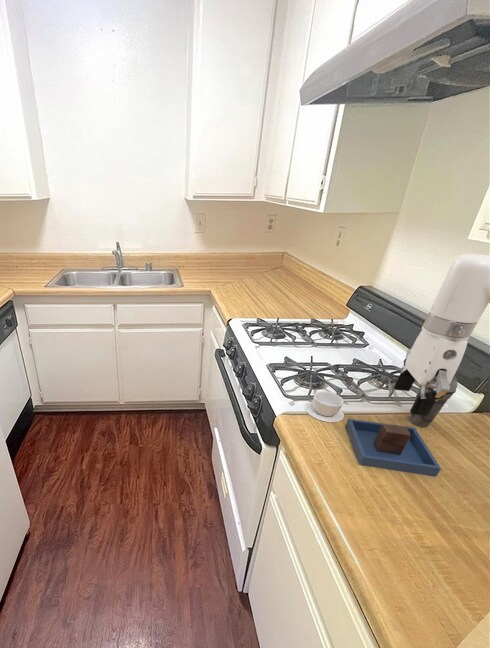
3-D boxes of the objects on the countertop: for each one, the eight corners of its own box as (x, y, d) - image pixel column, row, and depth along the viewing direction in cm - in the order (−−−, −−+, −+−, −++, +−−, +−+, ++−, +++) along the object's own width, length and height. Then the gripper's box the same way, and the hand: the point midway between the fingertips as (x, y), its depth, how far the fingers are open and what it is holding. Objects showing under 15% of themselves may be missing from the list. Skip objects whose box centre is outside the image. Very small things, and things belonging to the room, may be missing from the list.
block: (395, 446, 83) (406, 426, 80) (400, 455, 80) (411, 435, 77) (373, 443, 84) (382, 423, 80) (377, 451, 81) (387, 431, 78)
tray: (410, 436, 87) (415, 427, 85) (435, 477, 75) (441, 468, 73) (344, 427, 89) (348, 418, 88) (358, 466, 77) (363, 456, 76)
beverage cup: (438, 434, 88) (479, 364, 77) (405, 428, 90) (441, 358, 79) (429, 418, 94) (467, 351, 83) (399, 412, 96) (432, 346, 84)
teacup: (335, 428, 89) (341, 413, 86) (298, 412, 94) (303, 398, 92) (348, 412, 95) (354, 398, 92) (313, 398, 101) (317, 384, 98)
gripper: (497, 346, 57) (446, 427, 67) (448, 312, 71) (412, 383, 81) (447, 341, 58) (404, 421, 68) (409, 309, 73) (378, 379, 82)
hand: (409, 401), depth 74 cm, fingers open, 9 cm apart
